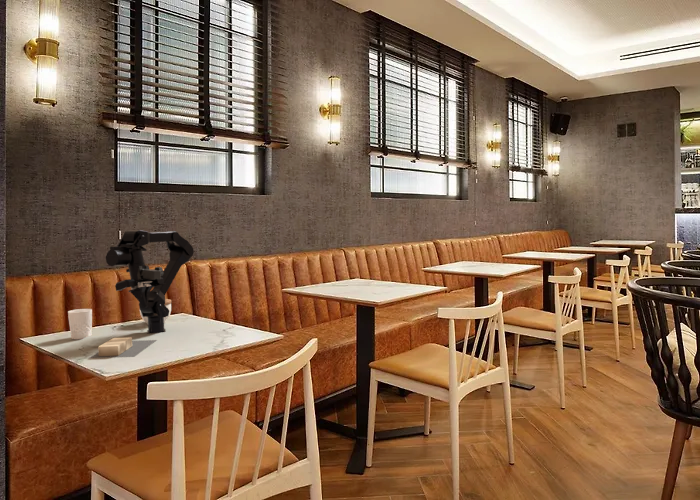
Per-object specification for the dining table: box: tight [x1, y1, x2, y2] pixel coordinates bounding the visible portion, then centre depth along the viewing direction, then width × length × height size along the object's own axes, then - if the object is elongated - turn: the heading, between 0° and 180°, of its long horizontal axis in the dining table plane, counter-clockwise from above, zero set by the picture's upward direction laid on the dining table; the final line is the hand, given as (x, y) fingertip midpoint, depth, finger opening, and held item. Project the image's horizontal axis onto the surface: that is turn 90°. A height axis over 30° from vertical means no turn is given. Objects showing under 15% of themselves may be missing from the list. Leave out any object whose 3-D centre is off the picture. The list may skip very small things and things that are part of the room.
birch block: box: [97, 336, 133, 356], centre depth 174 cm, size 3×6×12 cm
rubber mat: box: [89, 339, 158, 359], centre depth 178 cm, size 22×14×1 cm, turn 2°
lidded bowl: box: [138, 298, 172, 325], centre depth 222 cm, size 13×13×11 cm
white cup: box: [67, 308, 93, 340], centre depth 199 cm, size 8×8×10 cm
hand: (145, 307), depth 193 cm, fingers closed
